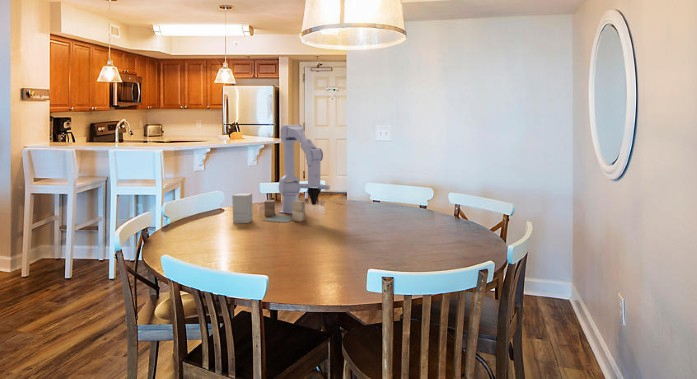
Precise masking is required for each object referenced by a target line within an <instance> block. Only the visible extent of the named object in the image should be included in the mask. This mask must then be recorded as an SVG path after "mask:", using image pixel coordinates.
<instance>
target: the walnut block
mask: <svg viewBox="0 0 697 379" xmlns="http://www.w3.org/2000/svg"><path fill="white" fill-rule="evenodd" d="M275 215H276V200H275V199H265V200H264V217H269V216H270V217H272V216H275Z"/></svg>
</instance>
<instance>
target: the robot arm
mask: <svg viewBox="0 0 697 379" xmlns="http://www.w3.org/2000/svg"><path fill="white" fill-rule="evenodd" d="M304 133H305V132H304V127H303V126H302V125H301V124H283V125H281V128H280V141H281V142H282V143H283V164H284V165H283V167H284V168H283V169H284V175H283V176H282V177H281V178H280V179H279V181H278V183H279V184H278V193H280V195H281V197H282V198H281V199H282V200H281V201H282V202H281V203H282V204H281V205H282V207H281V210H280V211H278V212H279V213H281V214H291V215H292V202H293V201H296V200H299V201H300V198H299V196H298V195H299V193H300V192H301V189H307V190H306V193H307V194H308V196H309V198H310V202H311V206H316V205H317V201H318V198H319V195H320V194H321V191H322V190H326V191H329V190H330V188H331V185H329V184H321V161H322V160H323V158H324V152H323V150H322V148H320V147H319V148H318V147H316V145H315V144H314V142H312V140H311V139H309V138H307V136H306V135H305V134H304ZM297 141H298V142H299V143H300V148H301V150H302V152H304V154H305V159H306V166H307V183H300V178H298V176H296V175H295V150H294V148H295V147H294V145H295V143H296V142H297Z"/></svg>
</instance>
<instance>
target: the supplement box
mask: <svg viewBox="0 0 697 379" xmlns="http://www.w3.org/2000/svg"><path fill="white" fill-rule="evenodd" d="M231 198H232V199H231V200H232V223H233V224H236V223H237V224H249V223H251V222H252V221H253V220H254V219H253V217H254V216H253V214H254V213H253V193H243V192H242V193H241V192H238V193H235V194H233V195H232V197H231Z"/></svg>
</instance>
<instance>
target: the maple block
mask: <svg viewBox="0 0 697 379" xmlns="http://www.w3.org/2000/svg"><path fill="white" fill-rule="evenodd" d="M291 216H292V220H291V221H292V222H301V223H302V222H304V221H306V200H300V199H299V200H296V201H293V202H292V214H291Z"/></svg>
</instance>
